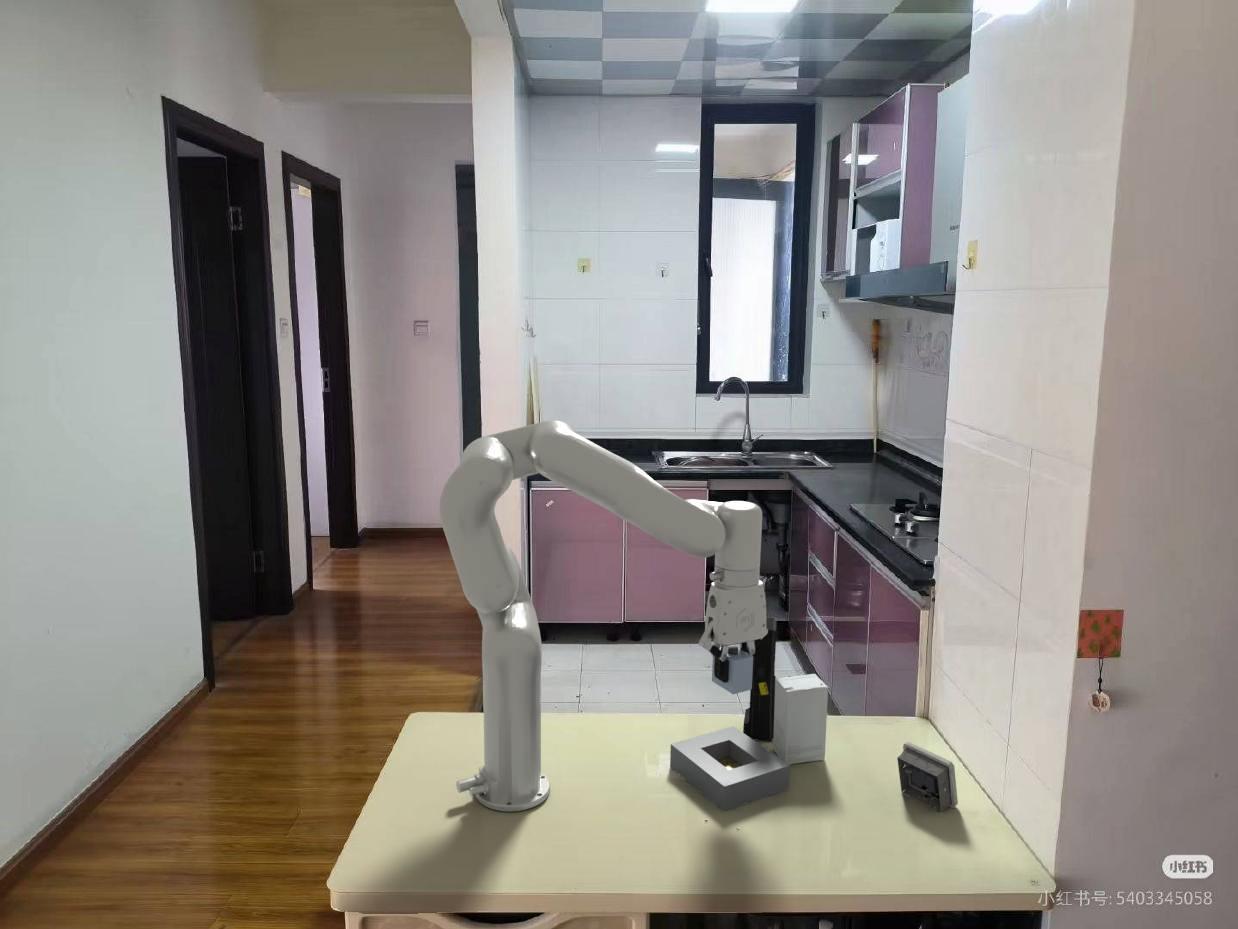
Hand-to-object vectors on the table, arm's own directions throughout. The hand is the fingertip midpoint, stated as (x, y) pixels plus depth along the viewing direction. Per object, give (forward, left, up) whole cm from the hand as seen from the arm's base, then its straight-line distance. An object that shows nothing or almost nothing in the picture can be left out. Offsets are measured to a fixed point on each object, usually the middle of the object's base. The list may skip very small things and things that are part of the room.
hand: (732, 676), depth 155 cm
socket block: (0, 0, -19) cm, 19 cm away
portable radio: (+15, +10, -19) cm, 27 cm away
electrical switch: (+25, -22, -19) cm, 39 cm away
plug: (0, 0, -2) cm, 2 cm away
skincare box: (+16, 0, -19) cm, 25 cm away
